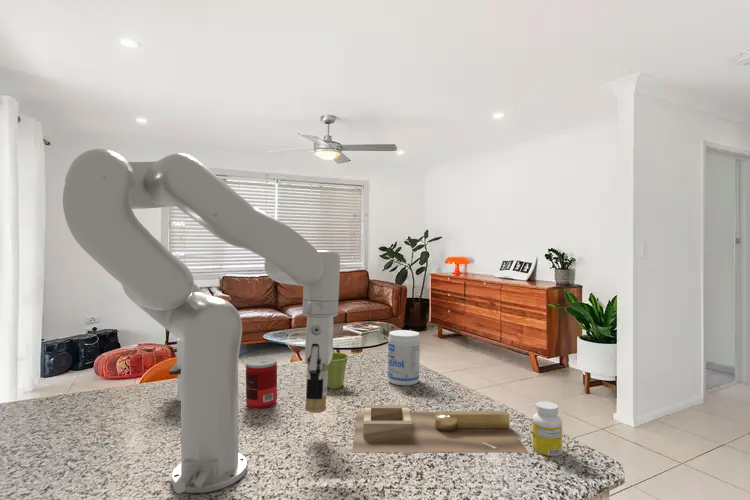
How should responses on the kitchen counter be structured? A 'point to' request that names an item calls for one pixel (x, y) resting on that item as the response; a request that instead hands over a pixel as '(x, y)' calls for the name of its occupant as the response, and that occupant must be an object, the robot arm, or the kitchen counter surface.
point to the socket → (387, 421)
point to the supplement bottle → (547, 430)
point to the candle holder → (178, 365)
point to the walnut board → (438, 438)
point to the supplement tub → (403, 357)
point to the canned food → (261, 383)
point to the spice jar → (320, 404)
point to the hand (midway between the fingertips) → (316, 393)
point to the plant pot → (336, 370)
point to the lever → (471, 419)
